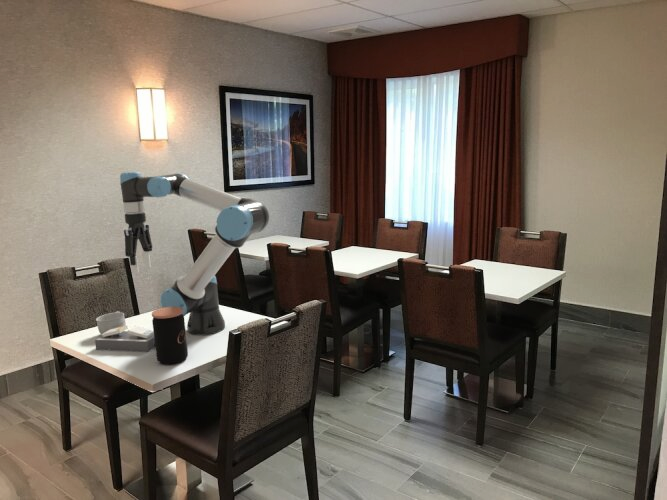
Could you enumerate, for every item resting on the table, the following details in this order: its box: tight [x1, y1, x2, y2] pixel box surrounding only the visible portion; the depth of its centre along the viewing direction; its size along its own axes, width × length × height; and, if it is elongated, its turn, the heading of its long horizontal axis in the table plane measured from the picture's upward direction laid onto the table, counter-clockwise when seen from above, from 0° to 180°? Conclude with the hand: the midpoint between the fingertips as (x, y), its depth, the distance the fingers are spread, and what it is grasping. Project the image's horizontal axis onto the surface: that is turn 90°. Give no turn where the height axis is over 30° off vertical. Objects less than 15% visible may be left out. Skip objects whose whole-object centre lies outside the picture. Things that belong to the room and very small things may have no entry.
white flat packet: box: [127, 325, 154, 338], centre depth 206 cm, size 8×5×1 cm, turn 79°
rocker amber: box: [101, 325, 129, 337], centre depth 209 cm, size 8×5×1 cm, turn 77°
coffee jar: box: [151, 307, 189, 366], centre depth 191 cm, size 11×11×18 cm
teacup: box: [95, 310, 127, 335], centre depth 223 cm, size 14×11×8 cm
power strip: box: [94, 330, 156, 353], centre depth 208 cm, size 26×10×5 cm, turn 78°
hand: (141, 270), depth 213 cm, fingers open, 8 cm apart
